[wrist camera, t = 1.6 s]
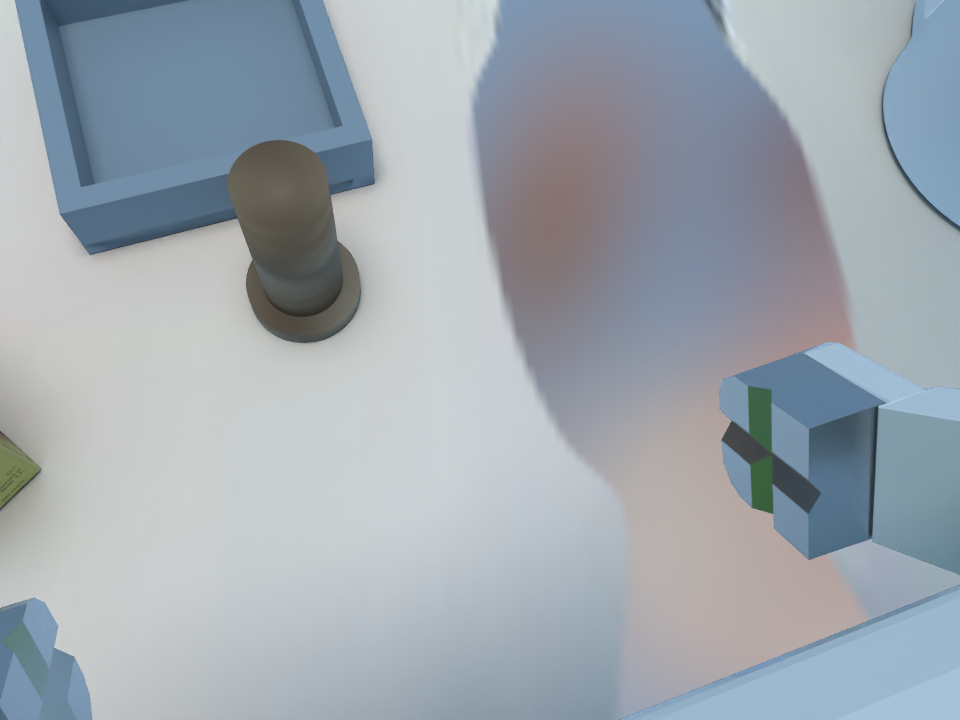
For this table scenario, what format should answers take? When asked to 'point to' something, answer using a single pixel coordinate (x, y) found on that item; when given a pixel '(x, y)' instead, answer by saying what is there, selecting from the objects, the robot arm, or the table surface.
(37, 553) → the table surface
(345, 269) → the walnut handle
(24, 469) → the candy box
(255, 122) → the tray
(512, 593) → the table surface
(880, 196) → the table surface
